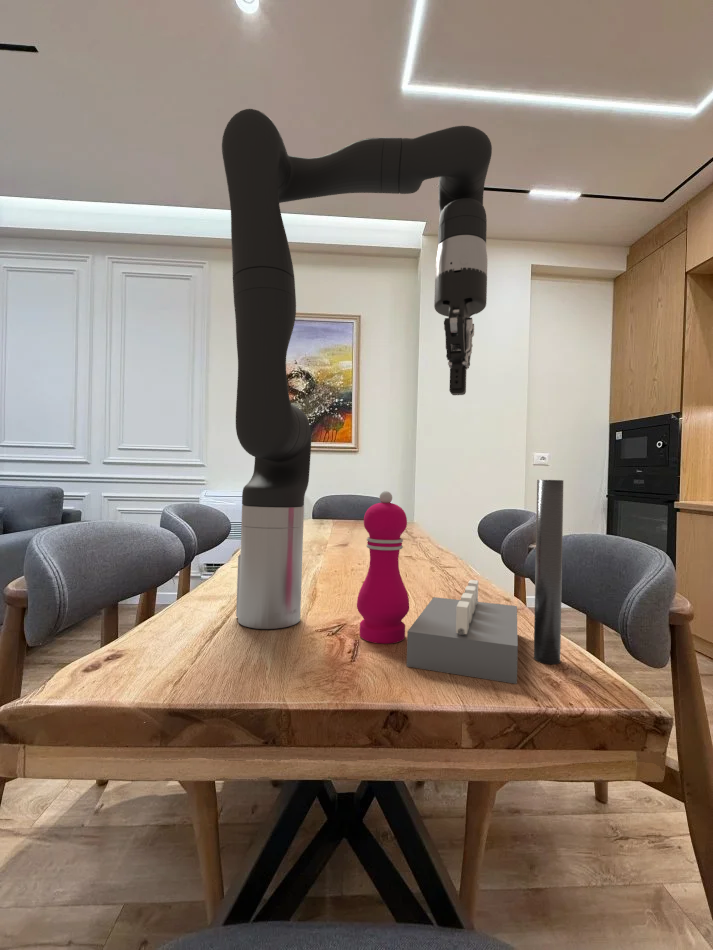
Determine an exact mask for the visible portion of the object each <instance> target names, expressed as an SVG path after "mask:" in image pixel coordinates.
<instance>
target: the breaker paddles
mask: <svg viewBox="0 0 713 950" xmlns="http://www.w3.org/2000/svg"><path fill="white" fill-rule="evenodd" d="M467 583H468V584H467V585H466V586H465V589H464V592H463V593H462V595H461V596H460V600H461V601H459V602H458V604H457V608H456V633H458V634H459V635H464V634H467V632H468V629H469V623H471V620H472V613H473V614H474V611H475V605H477V602H479V579H478V580H477V579H469V581H468V582H467Z"/></svg>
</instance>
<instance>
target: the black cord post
mask: <svg viewBox="0 0 713 950" xmlns="http://www.w3.org/2000/svg"><path fill="white" fill-rule="evenodd" d="M535 520H536V521H535V522H536V524H535V526H536V527H535V528H536V529H535V567H534V568H535V571H534V572H535V577H534V579H535V580H534V582H535V583H534V619H533V620H534V629H533V632H534V633H533V659H534V660H535V661H537V662H538V663H539V662H540V663H542V664H546V665H558V664H560V663H561V646H562V645H561V641H562V640H561V638H562V637H561V636H562V635H561V634H562V632H561V631H562V591H563V590H562V585H563V584H562V583H563V582H562V581H563V529H564V528H563V527H564V526H563V525H564V521H563V520H564V480H562V479H561V480H560V479H537V481H536V519H535Z"/></svg>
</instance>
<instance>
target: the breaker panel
mask: <svg viewBox="0 0 713 950" xmlns="http://www.w3.org/2000/svg"><path fill="white" fill-rule="evenodd" d="M459 601H461V599H456V598H455V599H454V598H444V597H435V596H434V597H432V599H431V600H430V601H429V603H428V604H427V605H426V607H425V608H424V609H423V610H422V612H421V613H420V614H419V615H418V616H417V618H416V620H414V622H413V623H412V624H411V626H410V627H409V629H408V630H407V631H406V632H407V635H406V636H407V638H406V667H408V668H415V669H422V670H427V671H428V670H429V671H434V672H440V673H448V674H452V675H458V676H465V677H472V678H477V679H478V678H479V679H482V680H483V679H484V680H488V681H489V680H491V681H496V682H504V683H510V684H515V685H517V684H518V656H519V655H518V649H519V648H518V646H519V644H518V641H519V638H518V636H519V635H518V606H517V605H510V604H501V603H495V602H494V603H491V602H484V601H483V602H482V601H478V602H477V605H475V611H474V614H473V613H472V620H471V623H469V629H468V632H467V634H464V635H459V634H458V633H456V608H457V604H458V602H459Z"/></svg>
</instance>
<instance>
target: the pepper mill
mask: <svg viewBox="0 0 713 950" xmlns="http://www.w3.org/2000/svg"><path fill="white" fill-rule="evenodd" d="M392 500H393V495H392V493H391V492H389V491H387V490H386V491H385V490H384V491H382V492H381V493H380V494H379V501H380V502H378V503H375V504H374V503H373V504H372V505H371V506H369V507H368V508H367V510H366V511H365V513H364V517H363V527H364V529H365V531H366V532H367V533H368V535H369V536H368V537H367V538H366V541H367V543H366V548H368V549H369V567H368V569H367V574H366V577H365V579H364V581H363V583H362V584H361V587H360V588H359V592H358V595H357V600H356V609H357V611H358V613H359V614H360V615H361V617H362V618H363V619H362V620H361V621H360V622H359V636H360V638H361V639H362V640H364V641H367V642H369V643H372V644H373V643H374V644H380V645H381V644H384V645H385V644H386V645H388V644H389V645H391V644H396V643H399V642H402V641H404V639H405V638H406V624H405V622H404V621H403V619H404V618H405V617H406V616H407V614H408V613H409V611H410V599H409V595H408V591H407V589H406V587H405V584H404V581H403V578H402V576H401V572H400V568H399V567H400V566H399V557H400V551H401V550H402V549H403V548H404V547H403V542H404V539H403V538H401V536H402V535H403V533H404V532H405V531H406V530H407V527H408V526H407V525H408V517H407V514H406V512H405V511H404V509H403V508H402V507H401V506H400V505H398V504H396V503H393V502H392Z"/></svg>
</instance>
